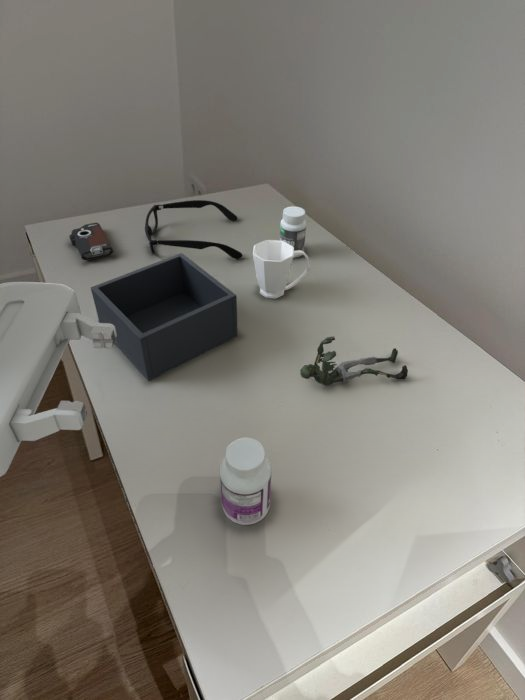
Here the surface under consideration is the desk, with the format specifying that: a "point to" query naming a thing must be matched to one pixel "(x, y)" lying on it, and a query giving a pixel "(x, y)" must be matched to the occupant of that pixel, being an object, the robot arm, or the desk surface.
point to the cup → (275, 267)
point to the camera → (91, 241)
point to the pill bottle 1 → (245, 481)
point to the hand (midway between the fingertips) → (100, 372)
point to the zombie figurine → (345, 367)
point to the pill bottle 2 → (293, 228)
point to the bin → (166, 313)
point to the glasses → (189, 243)
